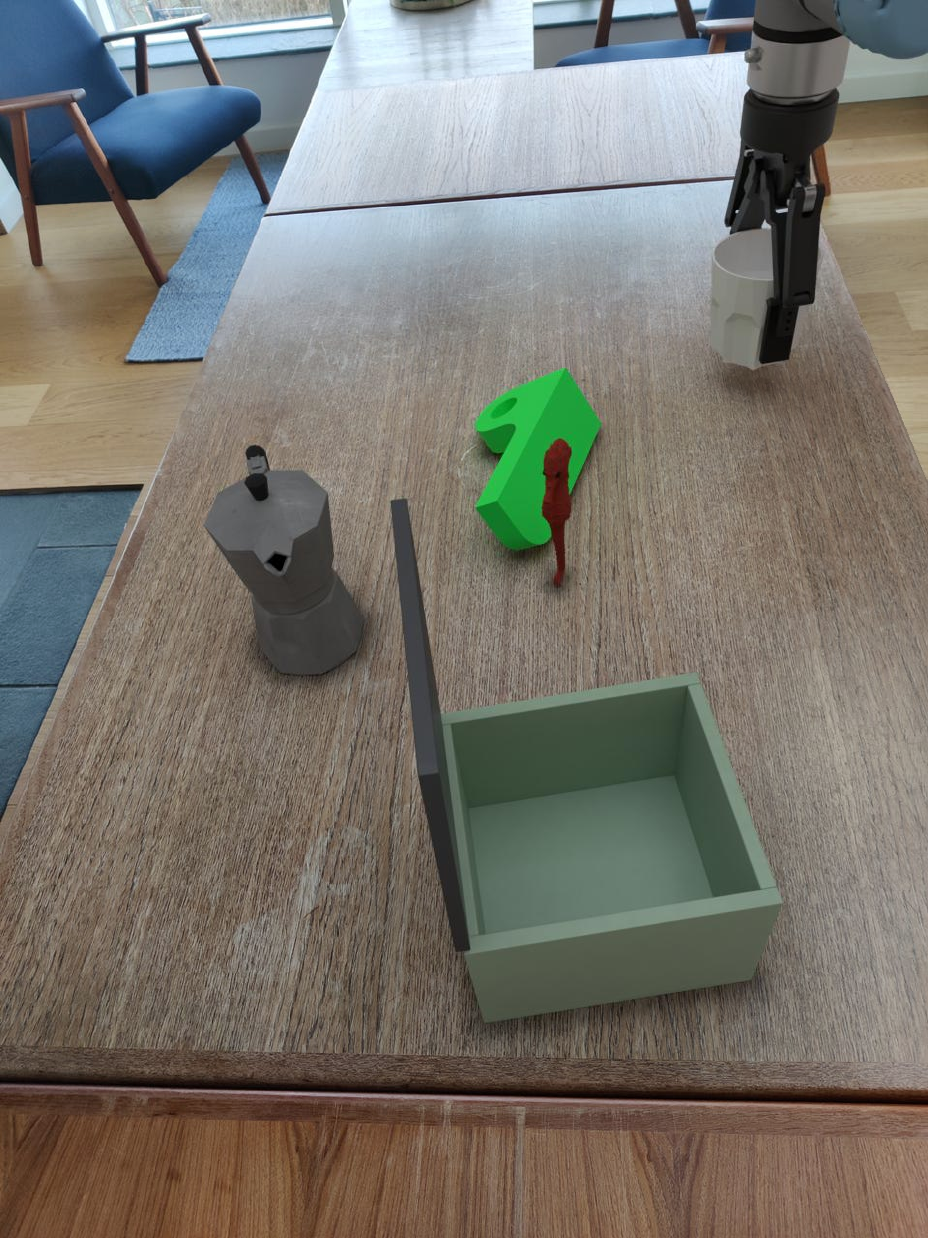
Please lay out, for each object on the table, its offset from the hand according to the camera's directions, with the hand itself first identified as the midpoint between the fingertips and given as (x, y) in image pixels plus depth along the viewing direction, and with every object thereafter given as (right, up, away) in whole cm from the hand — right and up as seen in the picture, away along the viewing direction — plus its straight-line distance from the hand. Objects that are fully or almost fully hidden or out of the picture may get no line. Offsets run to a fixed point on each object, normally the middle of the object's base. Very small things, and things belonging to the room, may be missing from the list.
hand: (755, 330), depth 89 cm
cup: (0, -1, +2) cm, 2 cm away
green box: (-21, -47, -29) cm, 59 cm away
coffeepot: (-43, -30, -11) cm, 53 cm away
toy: (-21, -26, -11) cm, 35 cm away
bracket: (-24, -16, -2) cm, 29 cm away
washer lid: (-31, -35, -45) cm, 65 cm away
